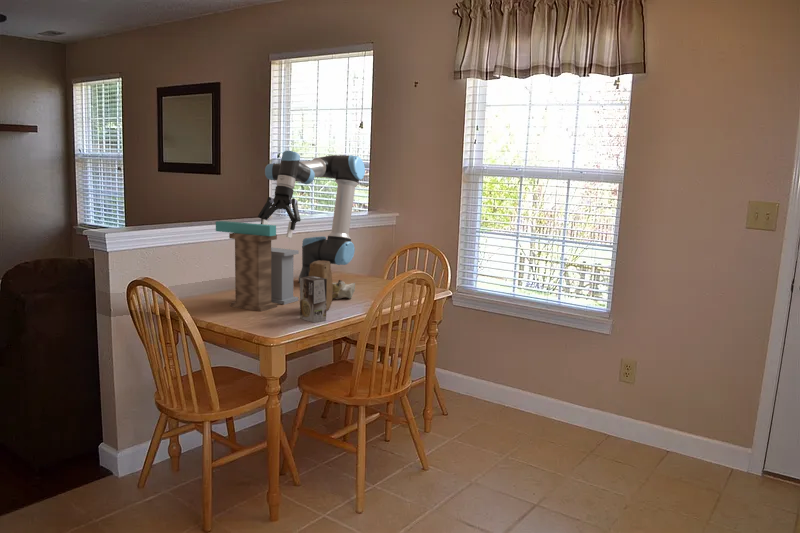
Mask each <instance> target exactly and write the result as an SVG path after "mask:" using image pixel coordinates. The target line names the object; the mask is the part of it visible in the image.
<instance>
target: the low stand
mask: <svg viewBox="0 0 800 533" xmlns="http://www.w3.org/2000/svg"><path fill="white" fill-rule="evenodd" d="M299 253H300V250H299V249H290V248H289V249H288V248H281V247H280V248H279V247H271V302H272V303H277V305H288V304H291V303H294V302H298V301H299V297H298V296H294V255H299Z"/></svg>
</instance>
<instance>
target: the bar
mask: <svg viewBox="0 0 800 533" xmlns="http://www.w3.org/2000/svg"><path fill="white" fill-rule="evenodd" d="M215 232H221V233H240V234H251V235H262V236H276V234H277V225H274V224H267V225H264V224H261V223H250V222H238V221H227V220H219V221H215Z"/></svg>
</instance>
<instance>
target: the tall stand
mask: <svg viewBox="0 0 800 533" xmlns="http://www.w3.org/2000/svg"><path fill="white" fill-rule="evenodd" d="M228 233H229V234H228V235H229V236H228V239H231V240H232V239H233V240H234V272H235V273H234V275H235V276H234V279H235V280H234V282H235V283H234V284H235V286H234V287H235V288H234V289H235V290H234V291H235V294H234V295H235V297H234V298H235V300H234V301H232V302H230V303H229V307H233V308H239V309H245V310H251V311H256V312H264V311H267V310H270V309H271V310H272V309H273V308H274V309H275V308H277V306H278V304H277V303H272V302H271V248H272V241H274V240H275V241H276V240H277V239H278V237H277V236H278V234H277V233H276V236H262V235H251V234H240V233H230V232H228Z"/></svg>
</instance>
